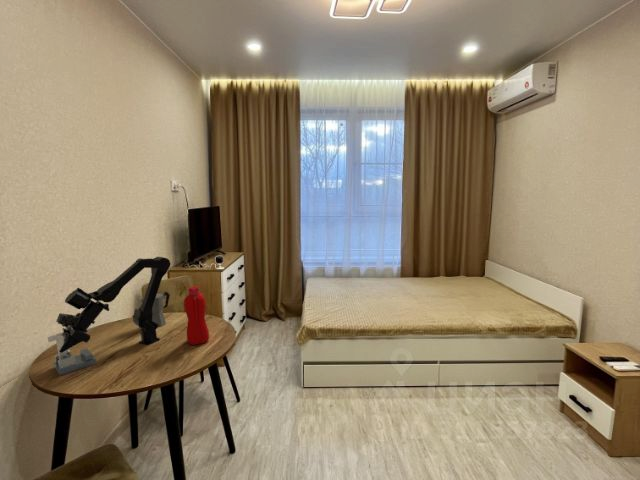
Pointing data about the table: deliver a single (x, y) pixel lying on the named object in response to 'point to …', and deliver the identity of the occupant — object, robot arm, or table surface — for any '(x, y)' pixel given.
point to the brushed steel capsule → (60, 344)
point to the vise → (74, 362)
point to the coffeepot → (159, 308)
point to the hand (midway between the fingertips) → (59, 350)
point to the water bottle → (196, 317)
